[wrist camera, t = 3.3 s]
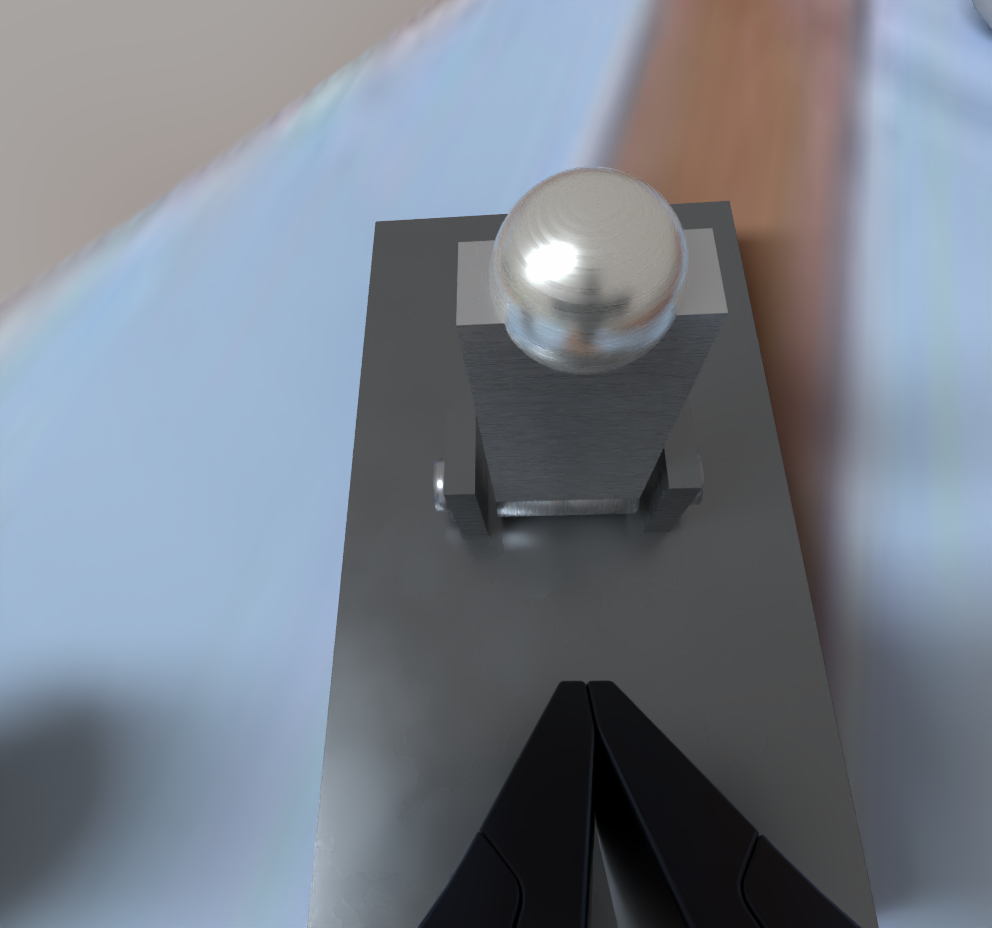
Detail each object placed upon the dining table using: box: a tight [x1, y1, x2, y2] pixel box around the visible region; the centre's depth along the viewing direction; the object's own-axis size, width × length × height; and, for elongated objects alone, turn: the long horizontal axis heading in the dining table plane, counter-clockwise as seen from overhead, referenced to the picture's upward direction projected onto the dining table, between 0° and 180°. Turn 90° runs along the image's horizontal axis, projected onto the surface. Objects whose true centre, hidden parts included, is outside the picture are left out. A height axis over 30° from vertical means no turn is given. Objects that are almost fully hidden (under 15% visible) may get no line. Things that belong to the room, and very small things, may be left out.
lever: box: [456, 166, 728, 517], centre depth 13 cm, size 3×4×12 cm
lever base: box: [307, 201, 878, 928], centre depth 18 cm, size 24×14×7 cm, turn 0°
